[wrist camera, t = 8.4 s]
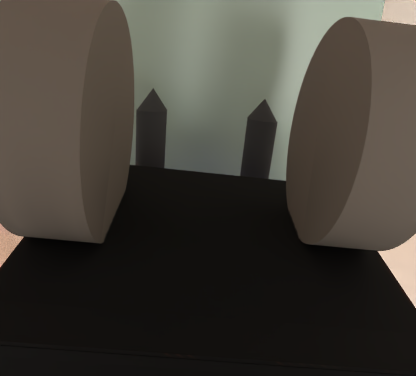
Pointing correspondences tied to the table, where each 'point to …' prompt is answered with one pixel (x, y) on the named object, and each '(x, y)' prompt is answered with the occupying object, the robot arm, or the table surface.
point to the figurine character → (201, 213)
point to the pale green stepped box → (227, 70)
